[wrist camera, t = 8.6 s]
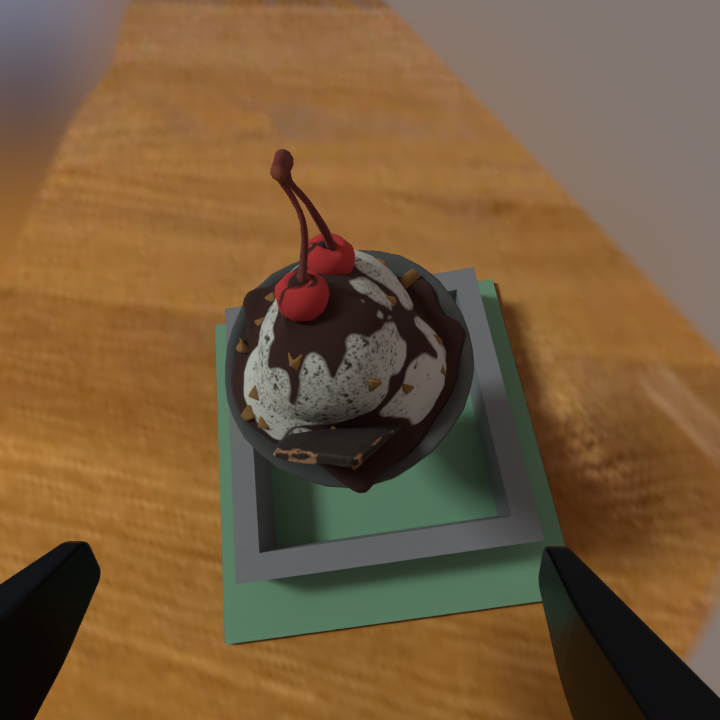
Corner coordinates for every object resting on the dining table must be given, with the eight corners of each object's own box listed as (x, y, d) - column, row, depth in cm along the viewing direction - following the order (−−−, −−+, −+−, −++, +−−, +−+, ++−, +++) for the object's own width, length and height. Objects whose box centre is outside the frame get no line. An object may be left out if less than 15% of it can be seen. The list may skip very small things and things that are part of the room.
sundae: (357, 338, 23) (289, 43, 9) (466, 416, 21) (609, 204, 7) (272, 438, 21) (23, 284, 7) (381, 531, 19) (337, 571, 5)
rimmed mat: (576, 594, 18) (605, 608, 16) (227, 642, 19) (199, 664, 16) (491, 282, 23) (502, 252, 21) (217, 327, 24) (194, 304, 21)
